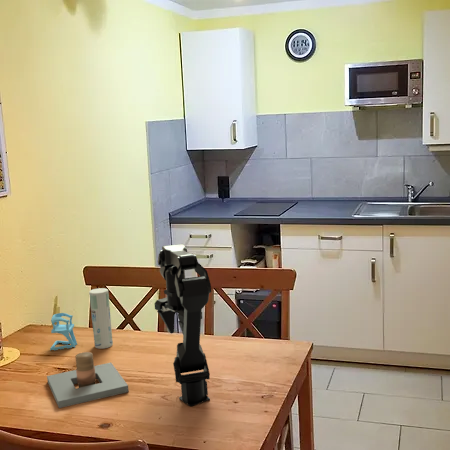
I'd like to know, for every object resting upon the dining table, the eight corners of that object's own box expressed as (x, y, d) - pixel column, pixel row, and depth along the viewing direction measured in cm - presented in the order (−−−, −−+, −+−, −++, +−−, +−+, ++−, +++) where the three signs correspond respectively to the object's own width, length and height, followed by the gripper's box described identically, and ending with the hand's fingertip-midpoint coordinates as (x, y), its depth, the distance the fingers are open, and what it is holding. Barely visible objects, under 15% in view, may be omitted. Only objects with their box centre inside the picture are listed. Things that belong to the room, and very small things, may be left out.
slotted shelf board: (128, 391, 183) (128, 385, 183) (58, 408, 175) (58, 401, 175) (111, 368, 201) (111, 362, 201) (47, 382, 193) (47, 376, 193)
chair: (73, 350, 220) (70, 317, 217) (50, 350, 220) (46, 318, 218) (78, 342, 227) (76, 310, 225) (56, 343, 227) (52, 311, 225)
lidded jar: (90, 391, 185) (86, 359, 183) (74, 389, 187) (71, 357, 185) (99, 384, 190) (96, 352, 188) (84, 382, 192) (81, 351, 190)
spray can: (115, 346, 221) (110, 291, 217) (97, 350, 218) (91, 294, 214) (110, 340, 226) (105, 287, 223) (92, 344, 224) (87, 290, 220)
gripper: (216, 287, 182) (219, 338, 185) (183, 275, 198) (186, 323, 200) (183, 295, 176) (186, 348, 179) (151, 282, 192) (155, 331, 194)
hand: (179, 337), depth 188 cm, fingers open, 9 cm apart
